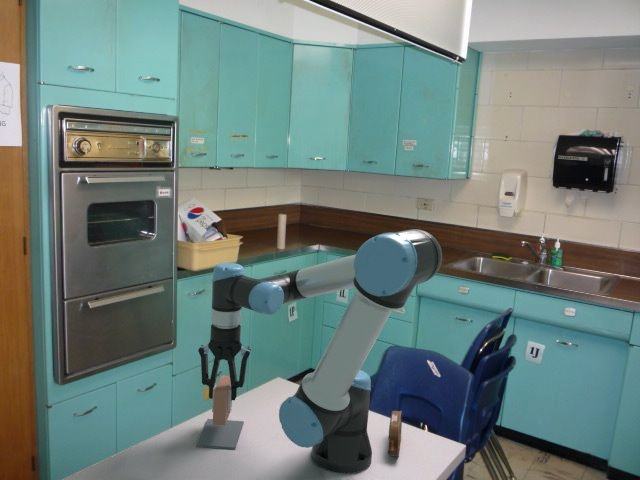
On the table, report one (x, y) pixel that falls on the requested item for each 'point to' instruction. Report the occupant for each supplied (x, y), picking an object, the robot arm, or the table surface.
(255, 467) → the table surface
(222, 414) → the block
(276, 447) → the table surface
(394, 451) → the tin
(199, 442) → the mat
